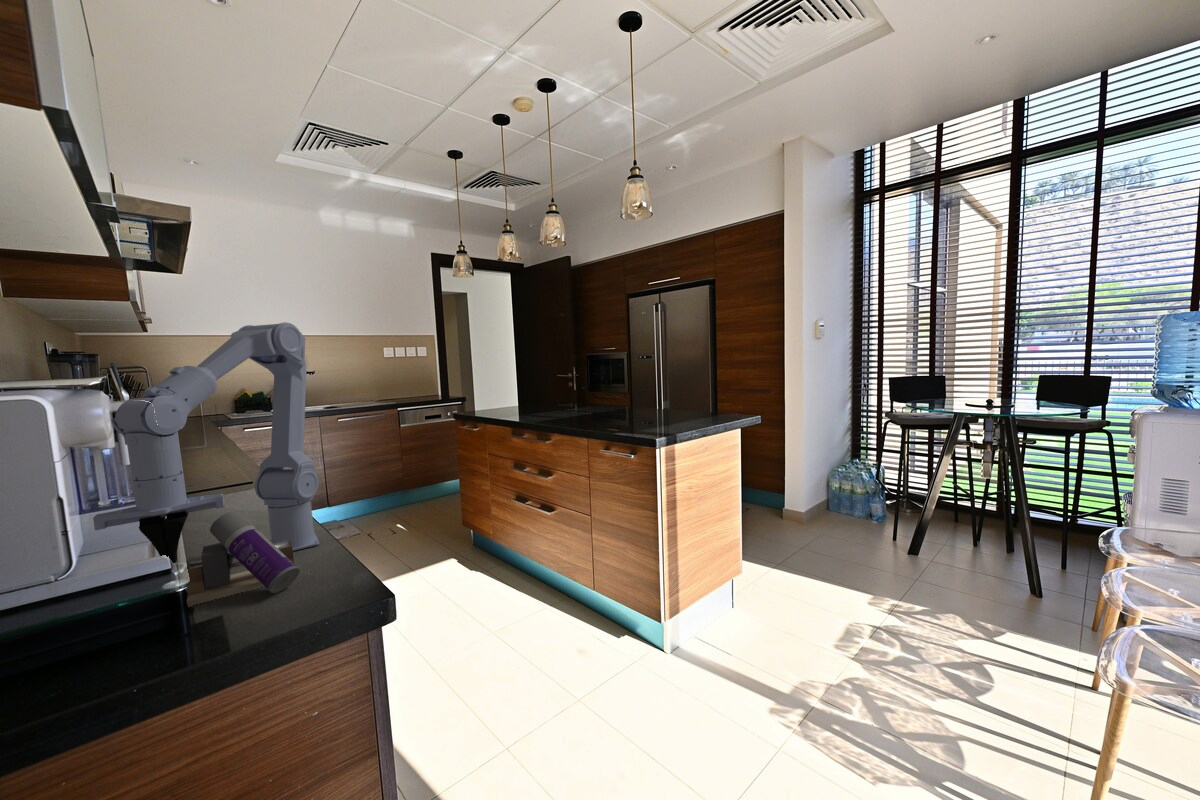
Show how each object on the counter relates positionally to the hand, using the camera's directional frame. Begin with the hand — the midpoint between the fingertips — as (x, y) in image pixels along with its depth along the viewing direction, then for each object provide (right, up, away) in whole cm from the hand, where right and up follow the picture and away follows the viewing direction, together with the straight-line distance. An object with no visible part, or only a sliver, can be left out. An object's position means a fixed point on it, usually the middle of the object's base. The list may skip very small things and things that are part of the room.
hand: (170, 562), depth 74 cm
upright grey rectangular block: (+5, -4, +3) cm, 7 cm away
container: (+17, -4, +2) cm, 17 cm away
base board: (+7, -6, +6) cm, 11 cm away
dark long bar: (+7, -2, +5) cm, 9 cm away
